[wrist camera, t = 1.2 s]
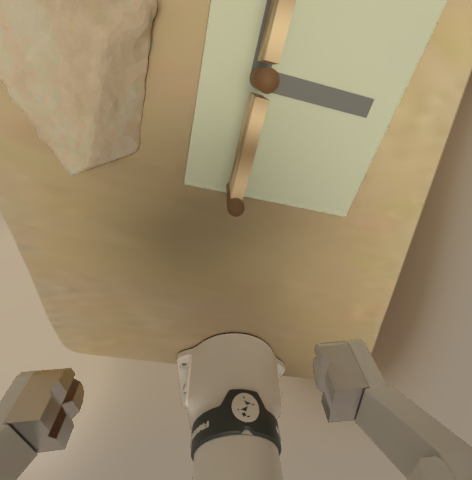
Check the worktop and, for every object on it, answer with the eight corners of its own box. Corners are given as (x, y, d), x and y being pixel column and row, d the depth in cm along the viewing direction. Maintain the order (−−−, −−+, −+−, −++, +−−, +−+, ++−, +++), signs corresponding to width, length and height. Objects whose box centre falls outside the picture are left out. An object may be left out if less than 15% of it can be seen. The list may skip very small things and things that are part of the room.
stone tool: (-44, -180, 21) (50, 167, 32) (-134, -276, 16) (14, 179, 26) (148, -177, 21) (177, 166, 32) (122, -270, 16) (168, 177, 27)
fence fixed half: (264, 90, 29) (275, 96, 23) (247, 86, 28) (254, 90, 23) (310, -89, 22) (340, -141, 17) (288, -98, 22) (311, -154, 16)
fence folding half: (238, 195, 33) (241, 217, 28) (224, 192, 33) (225, 214, 28) (263, 95, 28) (273, 101, 23) (247, 91, 28) (254, 96, 23)
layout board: (343, 215, 36) (345, 217, 36) (184, 182, 33) (183, 184, 32) (476, -68, 23) (481, -71, 23) (236, -166, 20) (237, -171, 20)
